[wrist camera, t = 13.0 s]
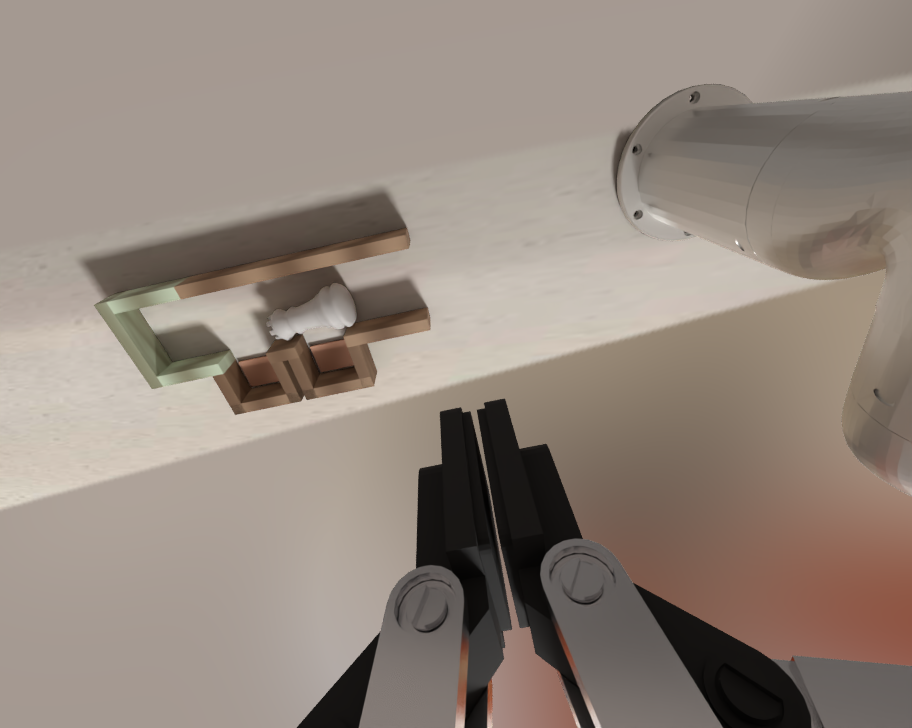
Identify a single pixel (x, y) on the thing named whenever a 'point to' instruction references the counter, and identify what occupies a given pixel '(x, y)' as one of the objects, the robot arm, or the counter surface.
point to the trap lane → (284, 356)
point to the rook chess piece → (315, 313)
